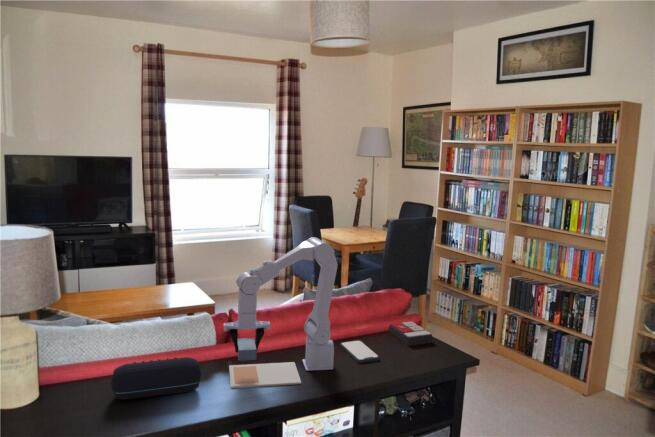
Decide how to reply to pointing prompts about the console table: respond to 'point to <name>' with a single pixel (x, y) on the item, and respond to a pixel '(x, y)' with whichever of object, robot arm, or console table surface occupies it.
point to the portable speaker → (155, 378)
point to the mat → (263, 375)
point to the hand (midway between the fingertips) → (246, 350)
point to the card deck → (246, 349)
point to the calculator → (410, 333)
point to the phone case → (359, 351)
